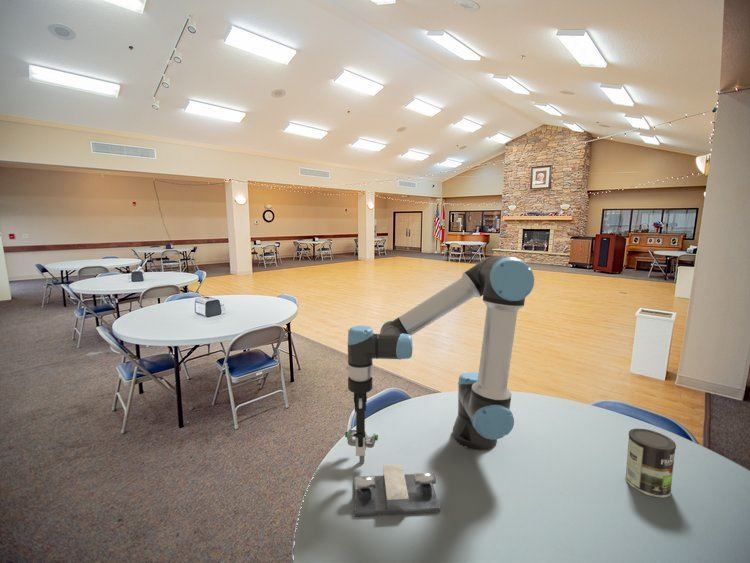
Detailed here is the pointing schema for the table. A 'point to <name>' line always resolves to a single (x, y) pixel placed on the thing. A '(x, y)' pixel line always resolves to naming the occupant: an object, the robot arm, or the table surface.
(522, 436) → the table surface
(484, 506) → the table surface
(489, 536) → the table surface
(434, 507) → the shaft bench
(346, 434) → the mechanical component
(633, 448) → the coffee can
